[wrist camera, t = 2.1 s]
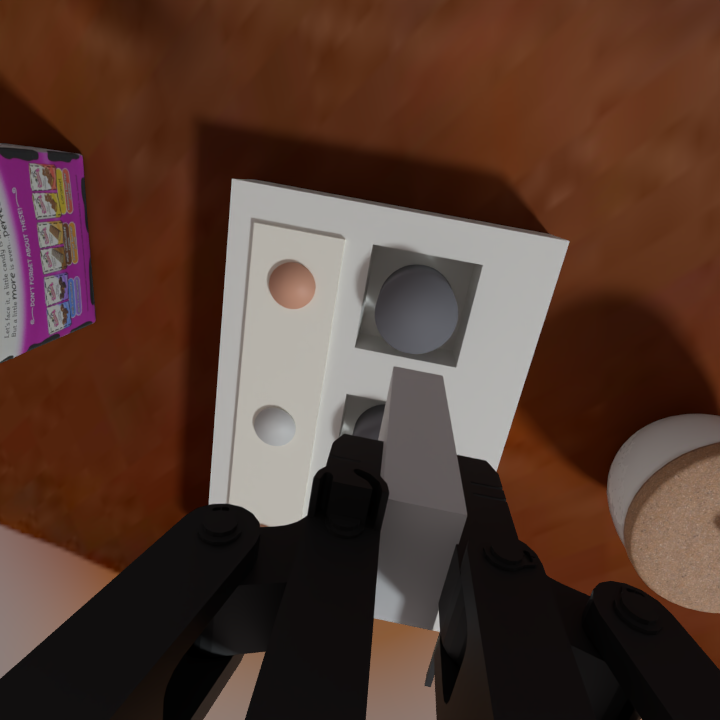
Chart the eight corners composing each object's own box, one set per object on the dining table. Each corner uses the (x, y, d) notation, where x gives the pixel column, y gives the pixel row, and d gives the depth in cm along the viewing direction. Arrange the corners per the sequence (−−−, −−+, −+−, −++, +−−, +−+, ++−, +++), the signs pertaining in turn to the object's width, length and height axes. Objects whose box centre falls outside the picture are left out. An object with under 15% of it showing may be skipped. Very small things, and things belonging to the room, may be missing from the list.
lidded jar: (573, 520, 35) (626, 632, 26) (596, 384, 32) (666, 461, 23) (731, 529, 34) (841, 648, 25) (773, 389, 31) (919, 472, 22)
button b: (427, 411, 31) (428, 434, 28) (413, 469, 32) (413, 497, 29) (359, 398, 31) (354, 419, 28) (348, 456, 32) (342, 482, 30)
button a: (462, 272, 28) (467, 282, 25) (444, 344, 29) (447, 361, 26) (386, 257, 28) (383, 265, 25) (372, 330, 29) (368, 345, 26)
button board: (549, 233, 29) (572, 242, 25) (442, 589, 39) (445, 638, 34) (255, 179, 29) (228, 178, 25) (223, 542, 39) (200, 584, 35)
